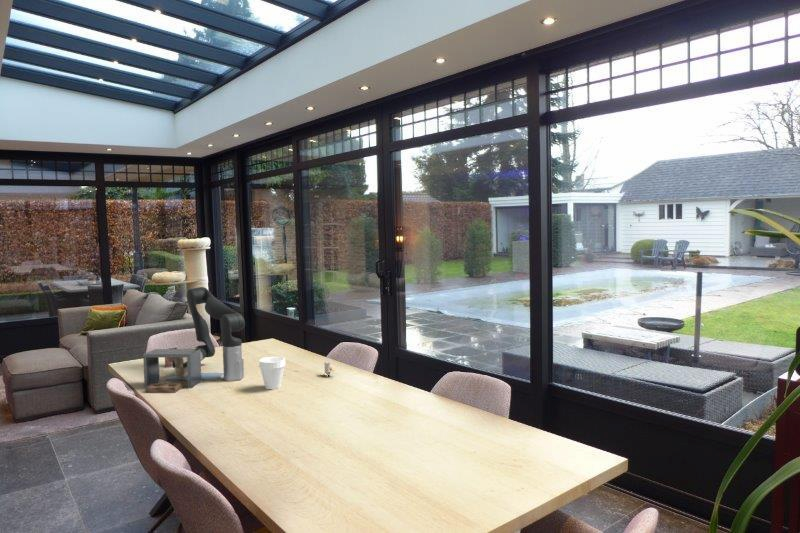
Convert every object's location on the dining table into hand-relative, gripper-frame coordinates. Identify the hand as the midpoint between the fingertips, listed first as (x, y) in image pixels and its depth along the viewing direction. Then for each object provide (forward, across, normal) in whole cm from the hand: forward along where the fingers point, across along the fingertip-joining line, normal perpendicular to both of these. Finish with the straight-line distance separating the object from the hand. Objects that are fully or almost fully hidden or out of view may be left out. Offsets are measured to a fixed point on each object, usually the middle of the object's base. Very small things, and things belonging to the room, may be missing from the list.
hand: (178, 365), depth 283 cm
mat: (-8, +5, +8) cm, 13 cm away
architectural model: (-10, +74, +9) cm, 75 cm away
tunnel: (+7, 0, +8) cm, 10 cm away
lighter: (-32, -19, +8) cm, 38 cm away
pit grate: (+17, 0, +8) cm, 18 cm away
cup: (+12, +51, +8) cm, 53 cm away
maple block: (-3, 0, +6) cm, 7 cm away
